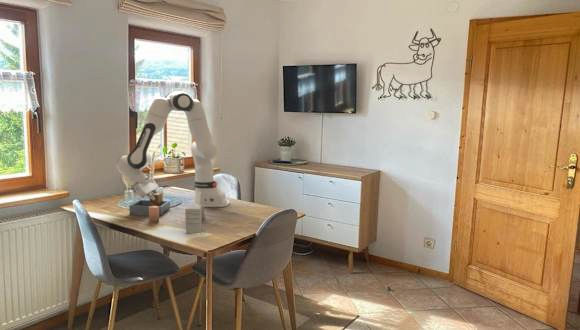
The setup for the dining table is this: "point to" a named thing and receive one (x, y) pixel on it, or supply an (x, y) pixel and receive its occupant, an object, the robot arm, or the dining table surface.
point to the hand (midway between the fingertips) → (157, 198)
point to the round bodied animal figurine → (202, 211)
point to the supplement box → (193, 218)
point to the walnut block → (156, 200)
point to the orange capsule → (153, 214)
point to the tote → (147, 207)
